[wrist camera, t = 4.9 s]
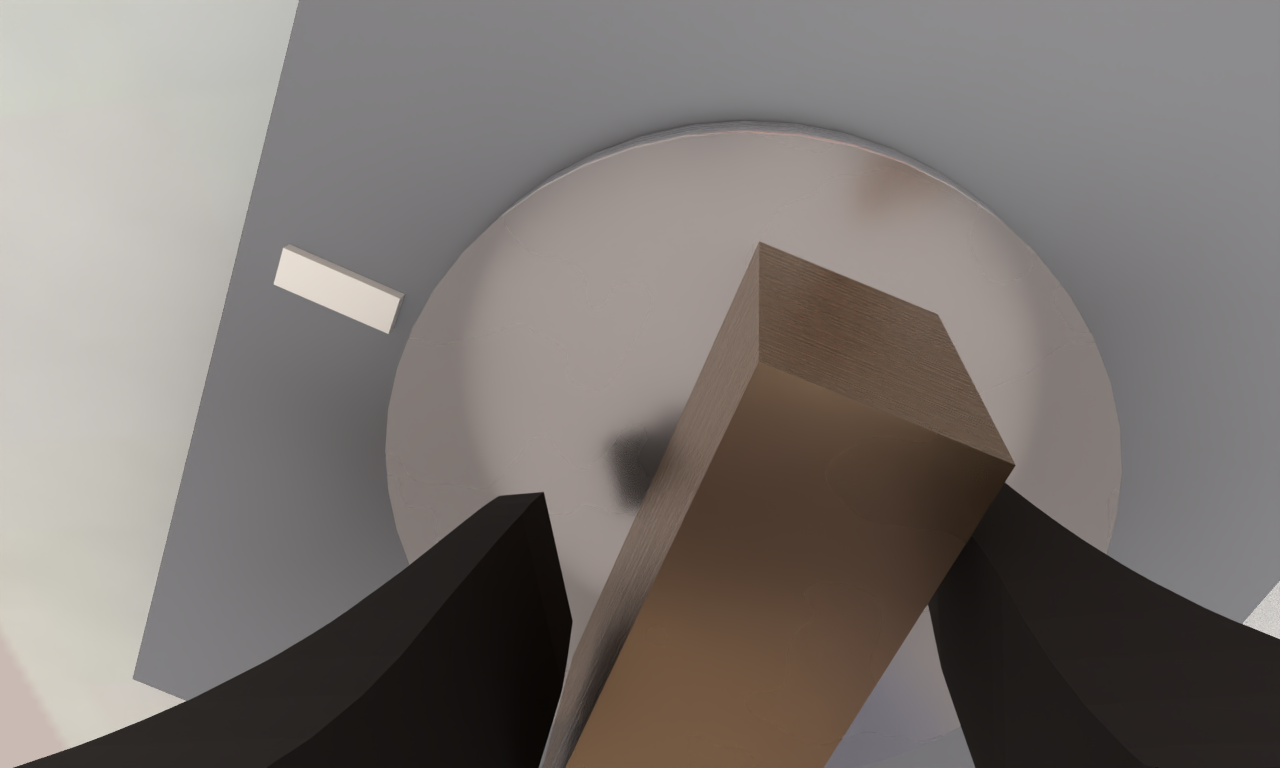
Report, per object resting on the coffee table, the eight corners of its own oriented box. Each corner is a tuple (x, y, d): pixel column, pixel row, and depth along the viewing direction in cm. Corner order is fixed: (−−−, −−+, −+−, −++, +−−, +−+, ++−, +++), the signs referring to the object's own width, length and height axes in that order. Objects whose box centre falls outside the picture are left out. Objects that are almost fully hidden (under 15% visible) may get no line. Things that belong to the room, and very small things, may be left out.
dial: (1249, 297, 12) (1535, 487, 8) (892, 812, 16) (942, 1134, 12) (526, -4, 12) (382, 11, 7) (341, 600, 16) (174, 851, 11)
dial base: (906, 925, 20) (918, 1005, 18) (177, 628, 19) (126, 686, 18) (1585, 99, 13) (1701, 118, 11) (460, -443, 12) (415, -505, 10)
